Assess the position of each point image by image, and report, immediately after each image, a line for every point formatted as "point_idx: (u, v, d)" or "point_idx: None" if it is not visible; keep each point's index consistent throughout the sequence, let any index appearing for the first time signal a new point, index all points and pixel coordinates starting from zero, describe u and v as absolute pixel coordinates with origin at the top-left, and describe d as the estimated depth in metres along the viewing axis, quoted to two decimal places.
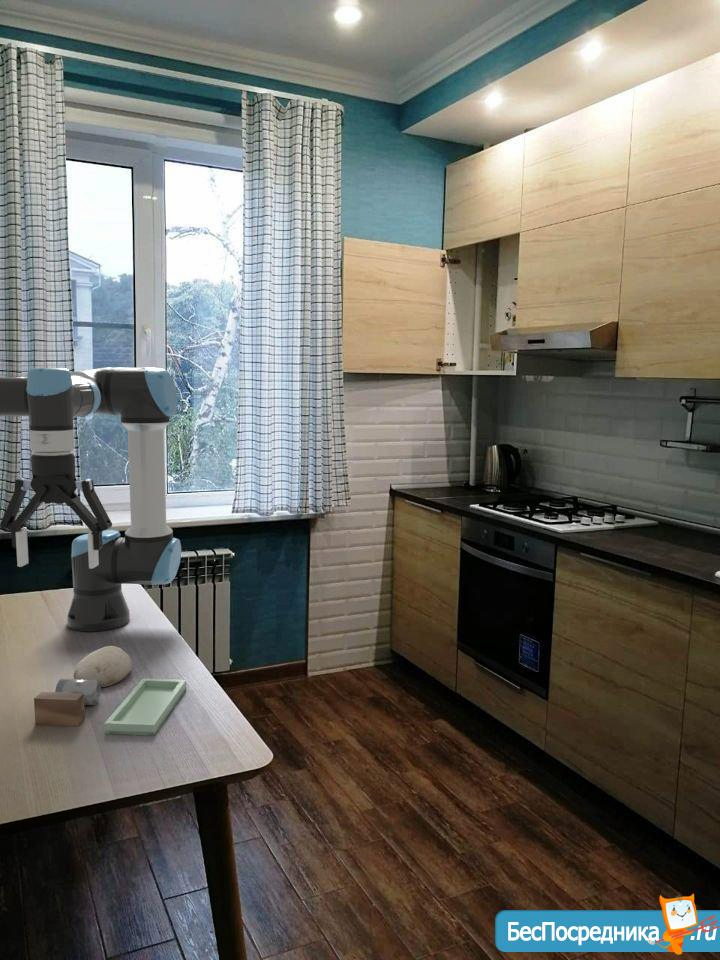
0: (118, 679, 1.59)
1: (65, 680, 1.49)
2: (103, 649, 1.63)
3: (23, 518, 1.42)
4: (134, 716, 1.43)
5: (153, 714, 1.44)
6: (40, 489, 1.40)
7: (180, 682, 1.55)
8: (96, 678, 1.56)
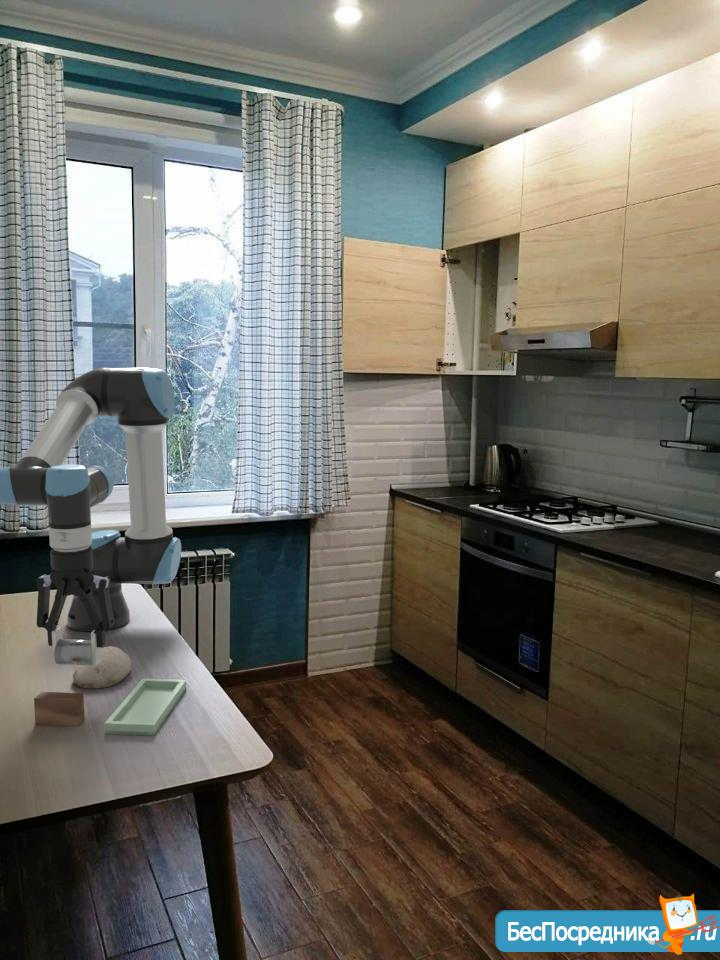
0: (117, 680, 1.58)
1: (65, 640, 1.49)
2: (102, 650, 1.63)
3: (54, 615, 1.47)
4: (134, 716, 1.43)
5: (153, 714, 1.44)
6: (60, 583, 1.45)
7: (180, 682, 1.55)
8: (95, 679, 1.56)
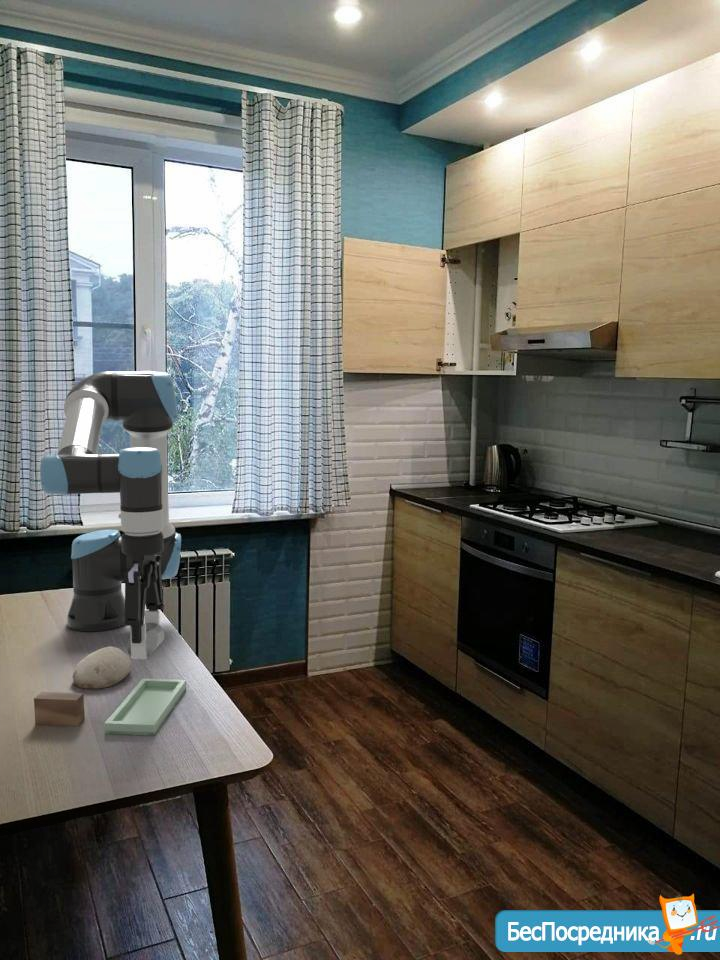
0: (117, 680, 1.58)
1: (148, 624, 1.47)
2: (102, 650, 1.62)
3: None
4: (134, 716, 1.43)
5: (153, 714, 1.44)
6: None
7: (180, 682, 1.55)
8: (95, 679, 1.56)
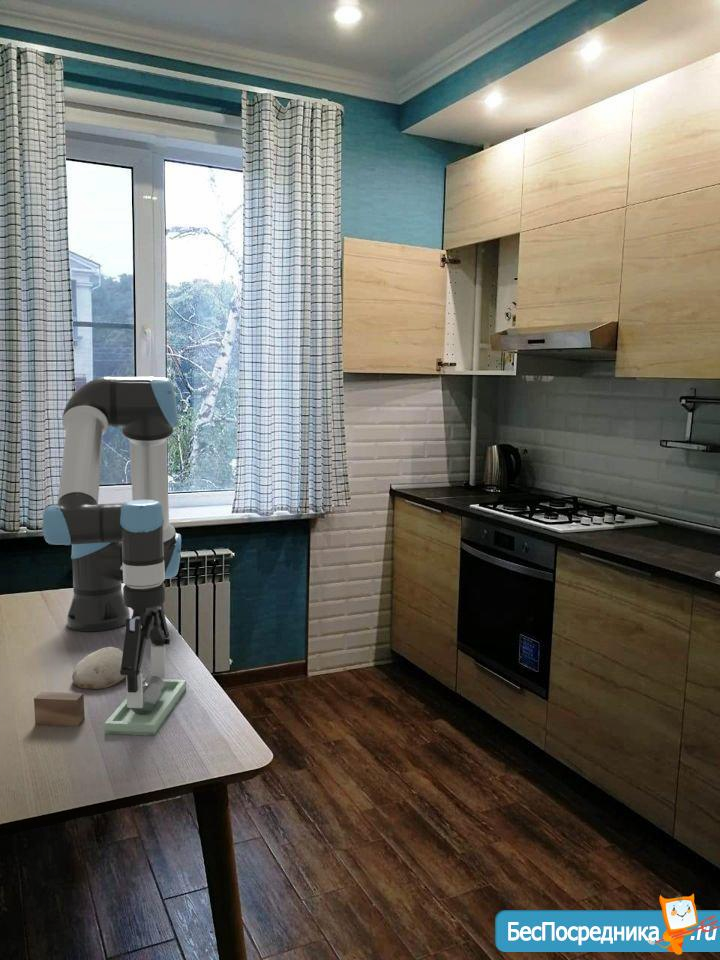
0: (117, 680, 1.58)
1: (150, 678, 1.49)
2: (102, 650, 1.62)
3: None
4: (134, 716, 1.43)
5: (153, 714, 1.44)
6: None
7: (180, 682, 1.55)
8: (95, 679, 1.56)
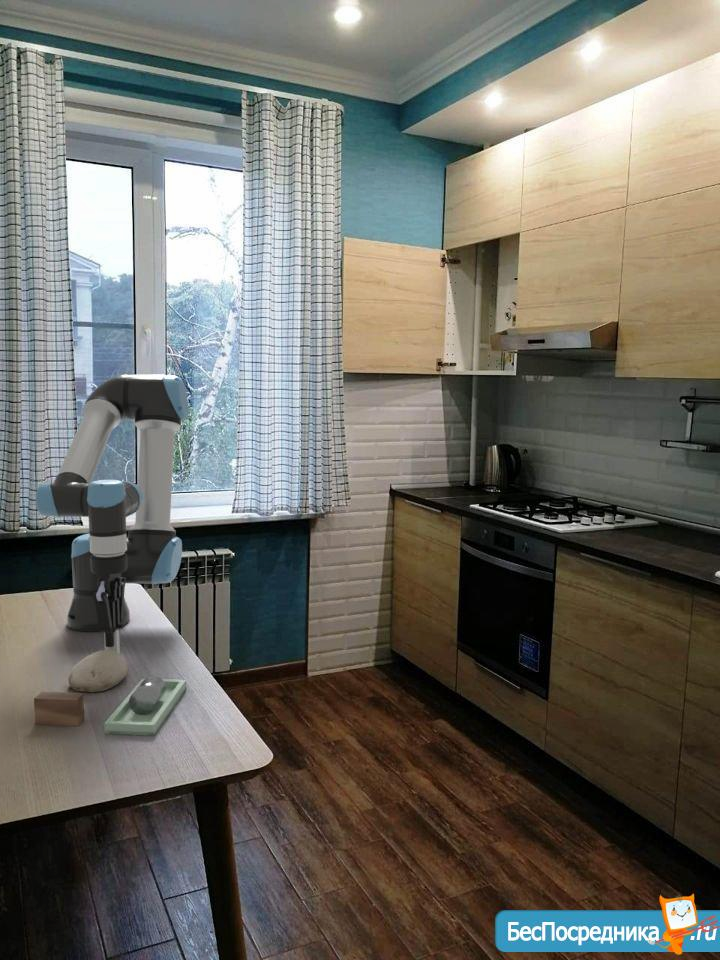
0: (113, 683, 1.56)
1: (150, 678, 1.49)
2: (99, 653, 1.60)
3: None
4: (134, 716, 1.43)
5: (153, 714, 1.44)
6: None
7: (180, 682, 1.55)
8: (91, 682, 1.54)
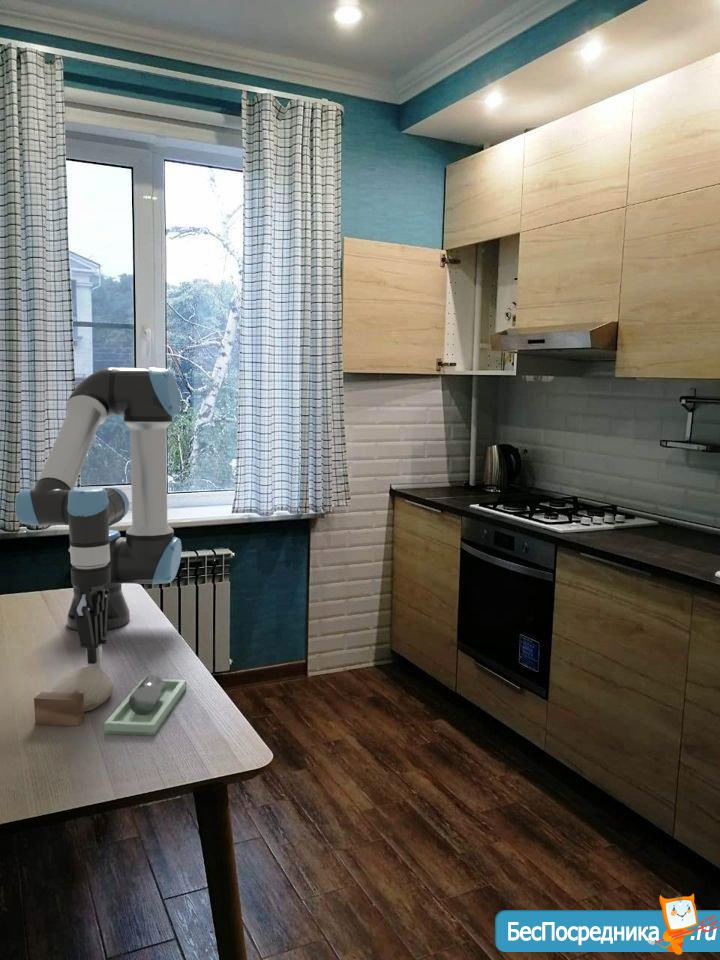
0: (99, 703, 1.47)
1: (150, 678, 1.49)
2: (82, 670, 1.51)
3: None
4: (134, 716, 1.43)
5: (153, 714, 1.44)
6: None
7: (180, 682, 1.55)
8: None
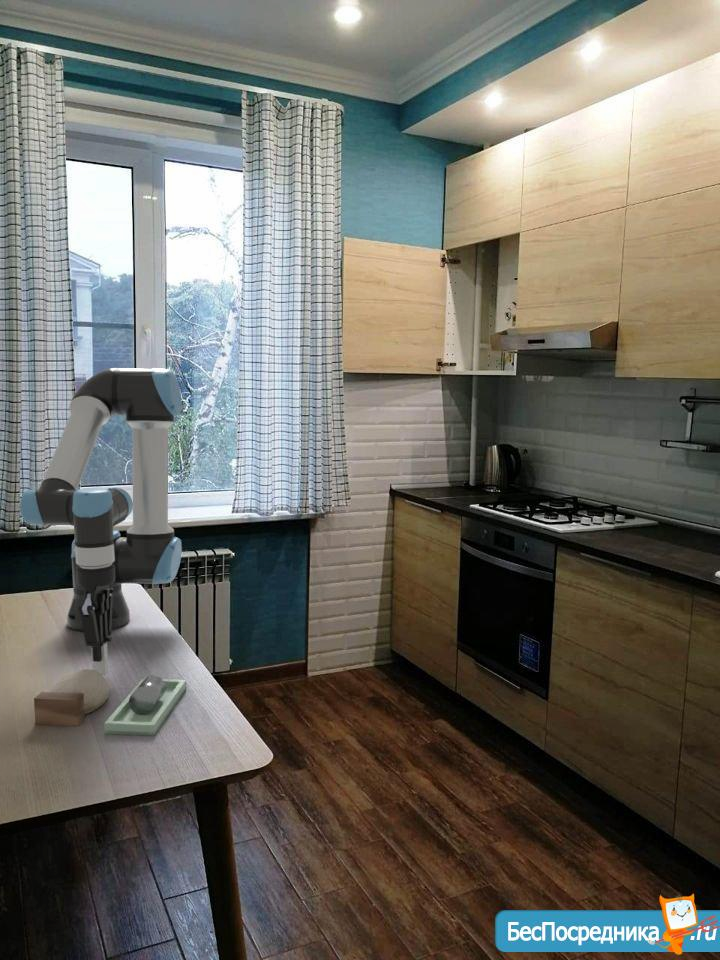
0: (97, 706, 1.46)
1: (150, 678, 1.49)
2: (78, 673, 1.50)
3: None
4: (134, 716, 1.43)
5: (153, 714, 1.44)
6: None
7: (180, 682, 1.55)
8: None
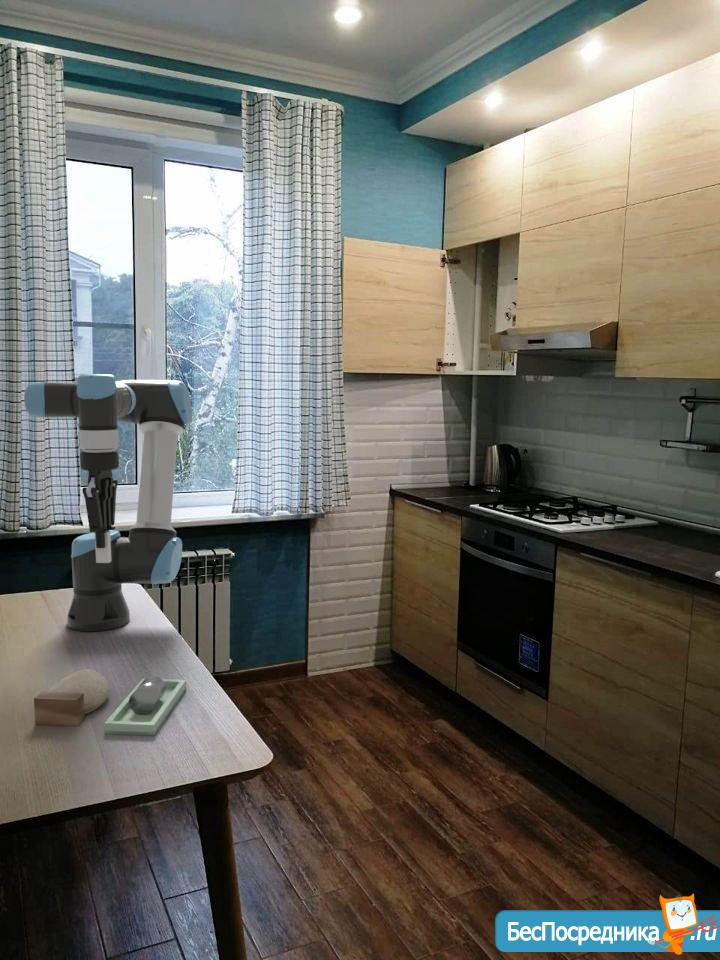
0: (96, 706, 1.46)
1: (150, 678, 1.49)
2: (78, 673, 1.50)
3: None
4: (134, 716, 1.43)
5: (153, 714, 1.44)
6: None
7: (180, 682, 1.55)
8: None
